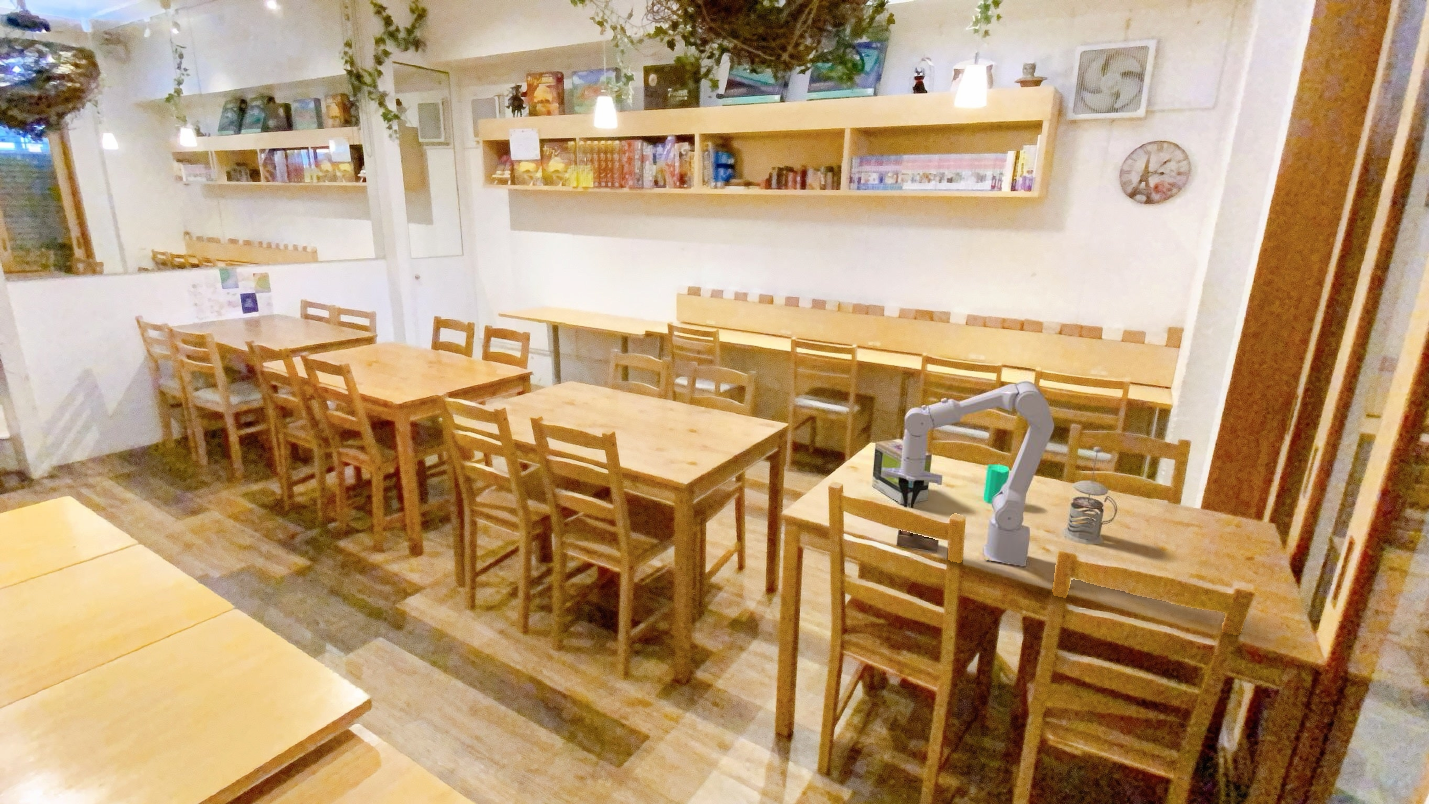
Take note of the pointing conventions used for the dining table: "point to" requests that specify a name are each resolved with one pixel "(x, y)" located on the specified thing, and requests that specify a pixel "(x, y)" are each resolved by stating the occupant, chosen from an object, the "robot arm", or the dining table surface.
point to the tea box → (890, 457)
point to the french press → (1087, 530)
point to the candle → (994, 481)
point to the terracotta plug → (905, 533)
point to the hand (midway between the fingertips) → (908, 506)
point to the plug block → (917, 542)
